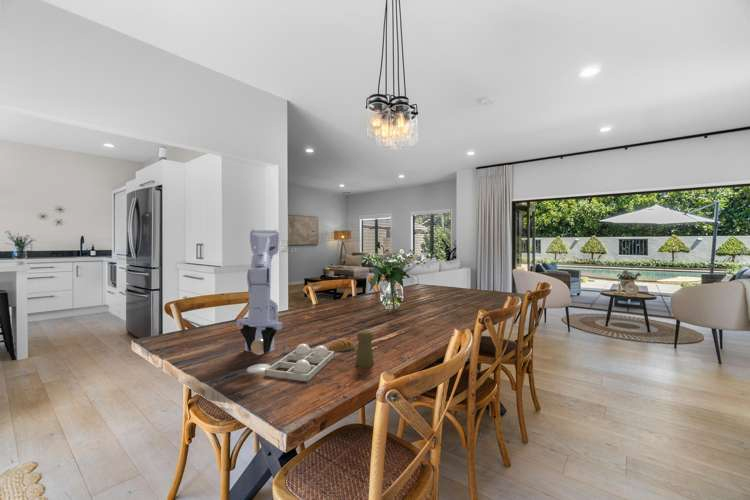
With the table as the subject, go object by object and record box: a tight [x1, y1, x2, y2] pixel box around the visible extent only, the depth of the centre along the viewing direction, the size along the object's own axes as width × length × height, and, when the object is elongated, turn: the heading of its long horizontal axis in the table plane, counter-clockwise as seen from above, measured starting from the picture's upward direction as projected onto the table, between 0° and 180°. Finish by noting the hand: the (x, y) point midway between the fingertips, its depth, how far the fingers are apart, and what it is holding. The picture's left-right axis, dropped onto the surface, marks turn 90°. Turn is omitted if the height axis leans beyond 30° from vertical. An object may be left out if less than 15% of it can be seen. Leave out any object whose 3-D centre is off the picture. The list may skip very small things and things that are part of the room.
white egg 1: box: [295, 343, 311, 356], centre depth 108 cm, size 5×5×5 cm
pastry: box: [328, 337, 356, 353], centre depth 118 cm, size 9×7×4 cm
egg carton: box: [264, 348, 336, 382], centre depth 101 cm, size 14×20×2 cm
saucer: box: [246, 363, 271, 374], centre depth 98 cm, size 7×7×1 cm
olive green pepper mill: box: [355, 329, 375, 368], centre depth 104 cm, size 6×6×11 cm
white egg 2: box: [294, 359, 311, 374], centre depth 94 cm, size 5×5×5 cm
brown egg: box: [250, 338, 265, 356], centre depth 98 cm, size 5×5×5 cm
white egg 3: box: [313, 345, 329, 358], centre depth 107 cm, size 5×5×5 cm
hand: (259, 350), depth 98 cm, fingers closed on brown egg, 5 cm apart
